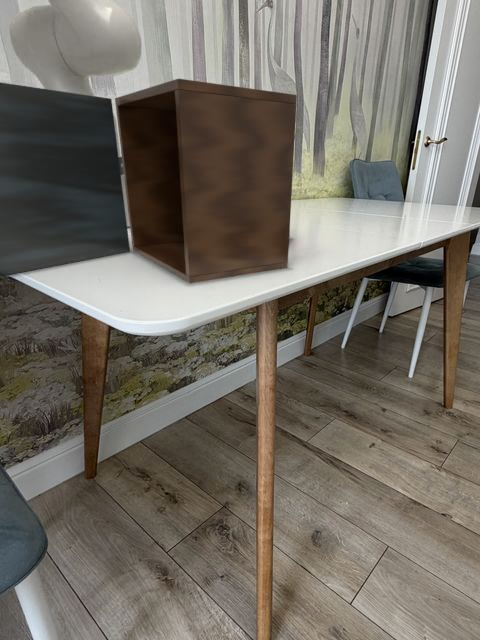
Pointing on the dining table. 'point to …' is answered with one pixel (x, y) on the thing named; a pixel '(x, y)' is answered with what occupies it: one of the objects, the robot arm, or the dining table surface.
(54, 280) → the dining table surface
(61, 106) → the door
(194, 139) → the cupboard
